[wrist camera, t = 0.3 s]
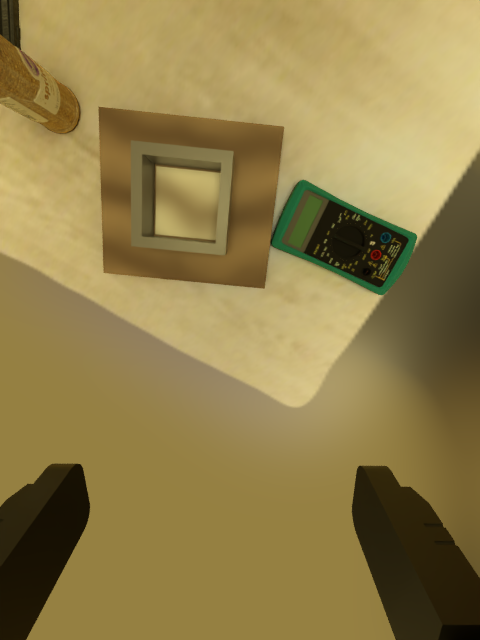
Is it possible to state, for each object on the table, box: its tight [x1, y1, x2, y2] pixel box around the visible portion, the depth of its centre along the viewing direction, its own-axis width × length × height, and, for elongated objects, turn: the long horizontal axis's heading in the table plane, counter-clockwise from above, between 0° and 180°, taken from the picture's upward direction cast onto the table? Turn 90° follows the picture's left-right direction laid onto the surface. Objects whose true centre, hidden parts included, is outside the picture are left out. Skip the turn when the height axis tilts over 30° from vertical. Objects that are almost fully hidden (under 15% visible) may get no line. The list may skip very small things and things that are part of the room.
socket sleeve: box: [131, 140, 235, 255], centre depth 29 cm, size 9×9×4 cm
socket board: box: [99, 107, 284, 288], centre depth 32 cm, size 16×18×2 cm
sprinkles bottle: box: [0, 35, 80, 133], centre depth 24 cm, size 5×5×13 cm
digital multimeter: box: [271, 180, 417, 295], centre depth 33 cm, size 7×15×3 cm, turn 66°
